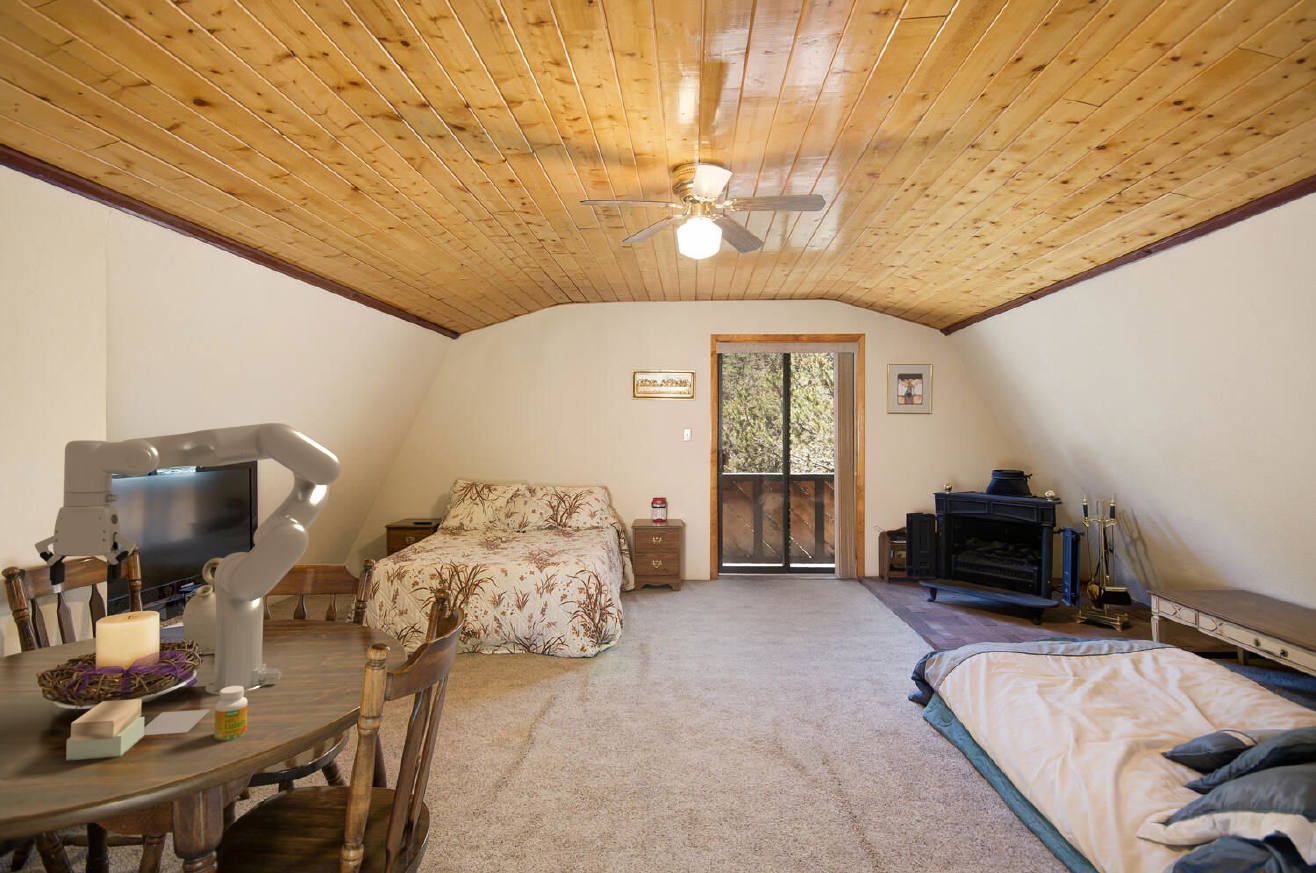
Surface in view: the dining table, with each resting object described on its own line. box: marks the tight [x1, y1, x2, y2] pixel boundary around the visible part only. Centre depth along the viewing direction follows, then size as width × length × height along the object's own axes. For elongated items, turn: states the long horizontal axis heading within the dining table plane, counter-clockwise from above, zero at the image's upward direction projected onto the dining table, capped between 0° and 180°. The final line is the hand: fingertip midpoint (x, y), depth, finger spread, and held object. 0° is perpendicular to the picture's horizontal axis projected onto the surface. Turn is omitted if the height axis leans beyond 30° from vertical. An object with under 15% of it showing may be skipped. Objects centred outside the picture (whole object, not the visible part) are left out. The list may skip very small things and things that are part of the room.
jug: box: [182, 557, 224, 656], centre depth 184 cm, size 15×16×25 cm
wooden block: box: [70, 698, 142, 741], centre depth 125 cm, size 6×10×3 cm, turn 14°
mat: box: [144, 709, 210, 736], centre depth 136 cm, size 9×11×1 cm
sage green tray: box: [65, 716, 145, 761], centre depth 125 cm, size 8×8×4 cm
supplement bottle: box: [213, 686, 248, 742], centre depth 132 cm, size 5×5×10 cm
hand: (85, 583), depth 138 cm, fingers open, 9 cm apart
